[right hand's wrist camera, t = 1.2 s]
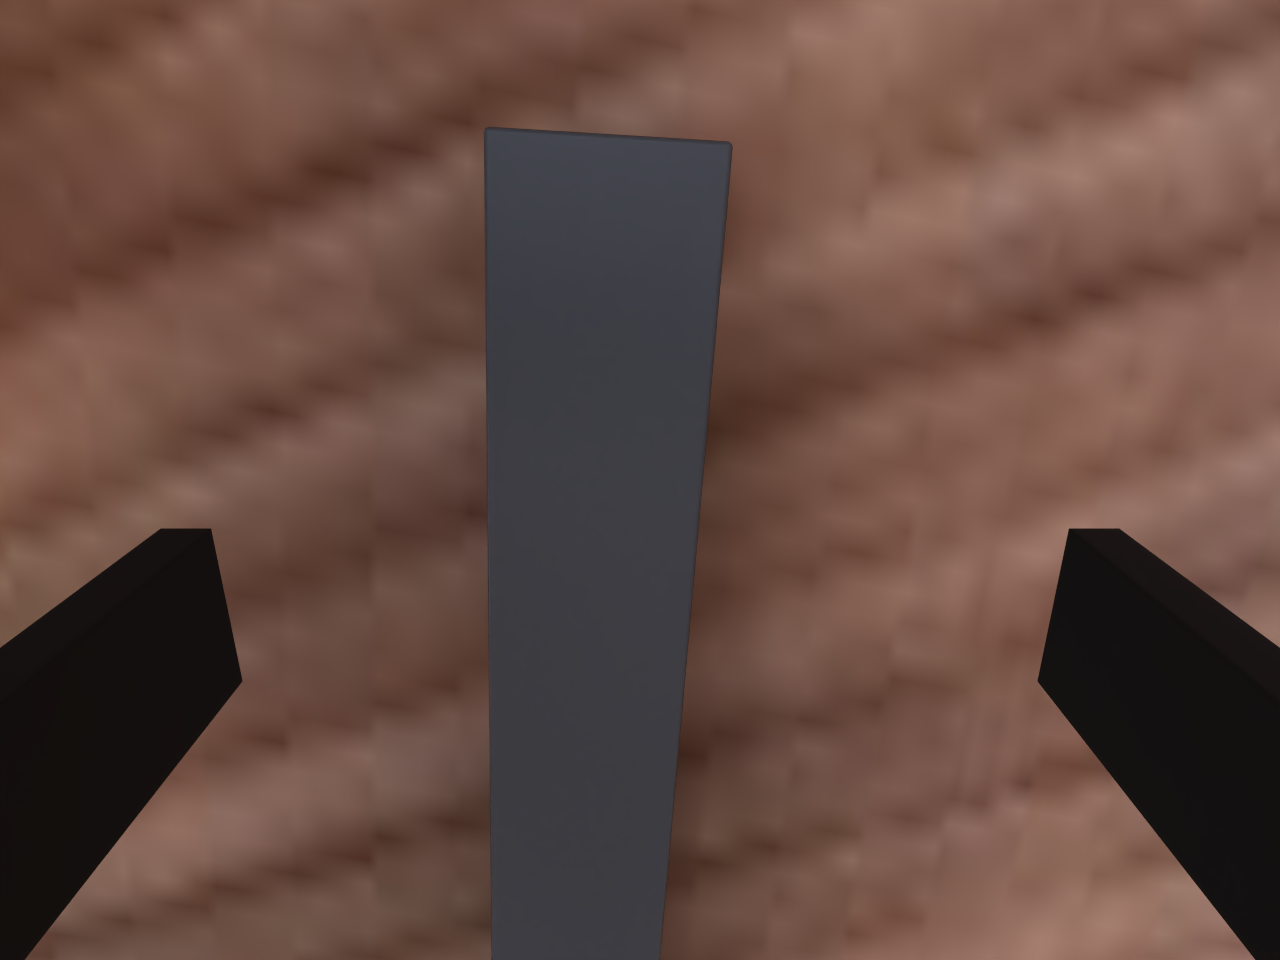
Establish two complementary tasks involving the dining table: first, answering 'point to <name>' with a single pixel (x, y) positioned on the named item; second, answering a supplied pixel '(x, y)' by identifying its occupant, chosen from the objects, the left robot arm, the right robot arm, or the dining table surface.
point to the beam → (592, 520)
